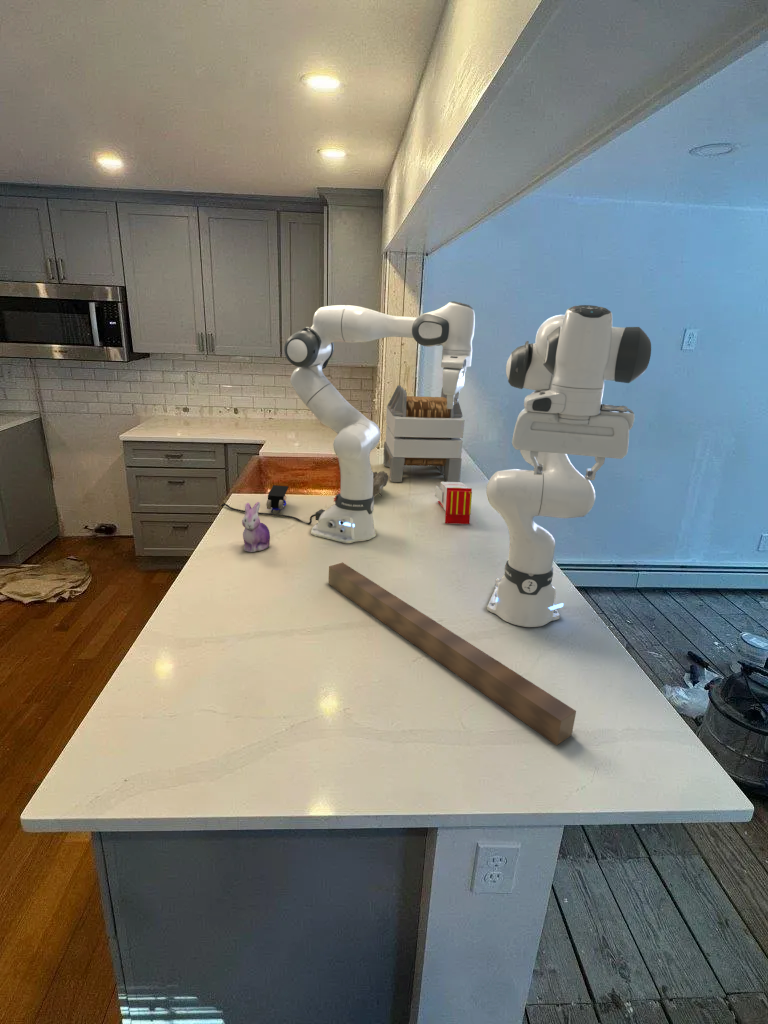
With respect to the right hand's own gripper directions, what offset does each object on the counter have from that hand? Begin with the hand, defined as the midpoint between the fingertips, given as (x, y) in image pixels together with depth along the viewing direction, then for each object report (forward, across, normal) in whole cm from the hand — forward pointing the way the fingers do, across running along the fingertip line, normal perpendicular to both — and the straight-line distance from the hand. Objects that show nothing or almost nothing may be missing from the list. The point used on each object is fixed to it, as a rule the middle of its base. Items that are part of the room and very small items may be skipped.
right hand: (563, 476), depth 106 cm
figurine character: (+46, +92, -88) cm, 136 cm away
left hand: (-1, +27, -69) cm, 74 cm away
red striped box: (+46, +27, -106) cm, 119 cm away
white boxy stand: (+46, +48, -157) cm, 171 cm away
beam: (+47, +24, -10) cm, 53 cm away
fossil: (+46, +61, -115) cm, 139 cm away
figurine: (+47, +85, -51) cm, 109 cm away
